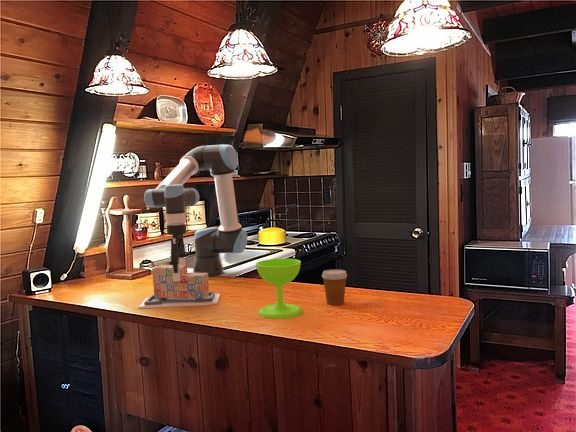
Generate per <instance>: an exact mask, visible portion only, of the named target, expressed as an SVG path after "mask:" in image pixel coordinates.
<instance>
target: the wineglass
mask: <svg viewBox="0 0 576 432" xmlns="http://www.w3.org/2000/svg"><path fill="white" fill-rule="evenodd" d="M301 263H302V261H301V260H300V259H296V258H271V259H263V260H258V261H257V262H256V263H255V266H256V271H257V272H258V275H259V276H260V277H261V278H262V279H263V281H265V282H267V284H270V285H274V286H276V299H277V300H276V303H275V304H268V305H266V306H264V307H262V308H260V309H259V310H258V313H257V314H258V316H260V317H263V318H265V319H276V320H278V319H280V320H281V319H289V318H294V317H298V316H300V315H302V314H303V313H304V312H303V308H302V307H301V306H298V305H295V304H293V303H284V300H283V299H284V297H283V286H284V285H286V284H290V283H291V282H292V281H294V280H295V278H296V277H297V276H298V275H299V272H300V269H301V265H302V264H301Z"/></svg>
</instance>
